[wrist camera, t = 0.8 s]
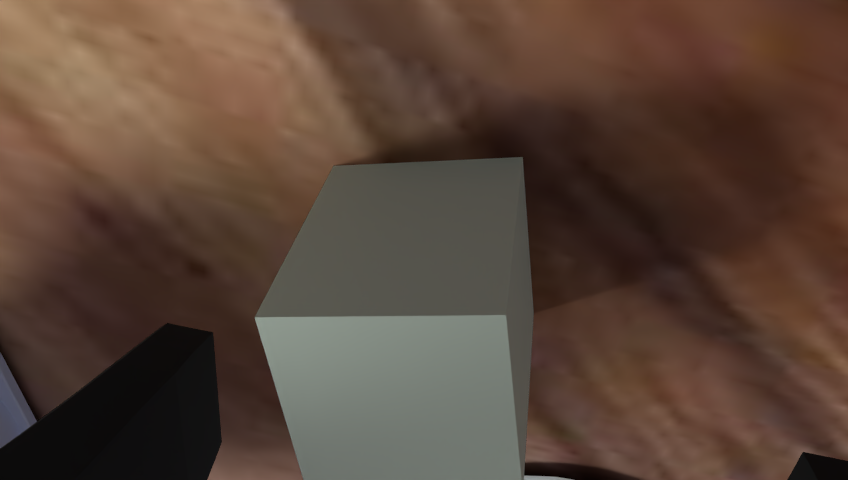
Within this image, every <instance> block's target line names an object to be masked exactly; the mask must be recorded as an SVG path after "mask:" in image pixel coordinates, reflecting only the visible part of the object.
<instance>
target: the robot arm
mask: <svg viewBox="0 0 848 480" xmlns="http://www.w3.org/2000/svg"><path fill="white" fill-rule="evenodd" d="M221 442H222V440H221V427H220V415H219V402H218V390H217V377H216V364H215V352H214V339H213V332H208V331H203V330H198V329H193V328H188V327H183V326H179V325H174V324H169V323H167V324H165V325H164V326H162V327H161V328H159V329H158V330H157V331H155V332H154V333H153V334H151V335H150V336H149V337H147V338H146V339H145V340H143V341H142V342H141V343H140V344H138V345H137V346H136V347H134V348H133V349H132V350H131V351H129V352H128V353H127V354H125V355H124V356H123V357H122V358H120V359H119V360H118V361H116V362H115V363H114V364H113V365H111V366H110V367H109V368H107V369H106V370H105V371H104V372H102V373H101V374H100V375H98V376H97V377H96V378H94V379H93V380H92V381H91V382H89V383H88V384H87V385H85V386H84V387H83V388H81V389H80V390H79V391H78V392H76V393H75V394H74V395H72V396H71V397H70V398H68V399H67V400H66V401H64V402H63V403H62V404H60V405H59V406H57V407H56V408H55V409H53V410H52V411H51V412H49V413H48V414H47V415H45V416H44V417H43V418H41V419H40V420H39V421H36V419H35V417H34V415H33V413H32V411H31V409H30V407H29V406H28V404H27V402H26V400H25V398H24V396H23V394H22V392H21V390H20V388H19V387H18V385H17V383H16V381H15V379H14V377H13V375H12V373H11V371H10V370H9V368H8V366H7V364H6V362H5V360H4V358H3V356H2V354H1V352H0V480H207V479H208V476H209V473H210V471H211V468H212V466H213V463H214V461H215V458H216V455H217V453H218V450H219V448H220V445H221ZM788 480H848V461H845V460H840V459H835V458H830V457H825V456H820V455H815V454H810V453H805V452H803V453H802V455H801V456H800V458H799V460H798V462H797V464H796V465H795V467H794V469H793V471H792V473H791V474H790V476H789V478H788Z"/></svg>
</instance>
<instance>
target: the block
mask: <svg viewBox="0 0 848 480" xmlns="http://www.w3.org/2000/svg"><path fill="white" fill-rule="evenodd" d="M533 318H534V310H533V295H532V281H531V267H530V253H529V239H528V224H527V210H526V196H525V182H524V168H523V157H513V158H491V159H469V160H448V161H426V162H405V163H383V164H362V165H340V166H333V168H332V170H331V172H330V174H329V176H328V177H327V179H326V181H325V183H324V185H323V187H322V189H321V191H320V193H319V195H318V197H317V199H316V200H315V202H314V204H313V206H312V208H311V210H310V212H309V214H308V216H307V218H306V220H305V222H304V223H303V225H302V227H301V229H300V231H299V233H298V235H297V237H296V239H295V241H294V243H293V245H292V246H291V248H290V250H289V252H288V254H287V256H286V258H285V260H284V262H283V264H282V266H281V268H280V269H279V271H278V273H277V275H276V277H275V279H274V281H273V283H272V285H271V287H270V289H269V291H268V292H267V294H266V296H265V298H264V300H263V302H262V304H261V306H260V308H259V310H258V312H257V314H256V315H255V321H256V324H257V327H258V331H259V334H260V337H261V340H262V344H263V347H264V350H265V354H266V357H267V360H268V364H269V367H270V370H271V374H272V377H273V380H274V384H275V387H276V390H277V394H278V397H279V400H280V403H281V407H282V410H283V413H284V417H285V420H286V423H287V427H288V430H289V433H290V437H291V440H292V443H293V447H294V450H295V453H296V456H297V460H298V463H299V466H300V470H301V473H302V476H303V480H524V469H525V452H526V436H527V419H528V402H529V385H530V368H531V352H532V335H533Z"/></svg>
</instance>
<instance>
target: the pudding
mask: <svg viewBox="0 0 848 480" xmlns="http://www.w3.org/2000/svg"><path fill="white" fill-rule="evenodd" d="M524 480H573V479H566V478H560V477H550V476H524Z"/></svg>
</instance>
